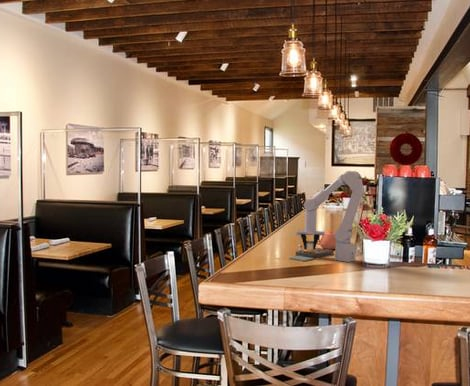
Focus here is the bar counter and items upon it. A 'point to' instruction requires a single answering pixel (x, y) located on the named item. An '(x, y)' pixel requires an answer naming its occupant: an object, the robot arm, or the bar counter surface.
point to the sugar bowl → (328, 241)
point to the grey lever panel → (318, 253)
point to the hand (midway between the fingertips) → (309, 249)
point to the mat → (301, 258)
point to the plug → (309, 247)
